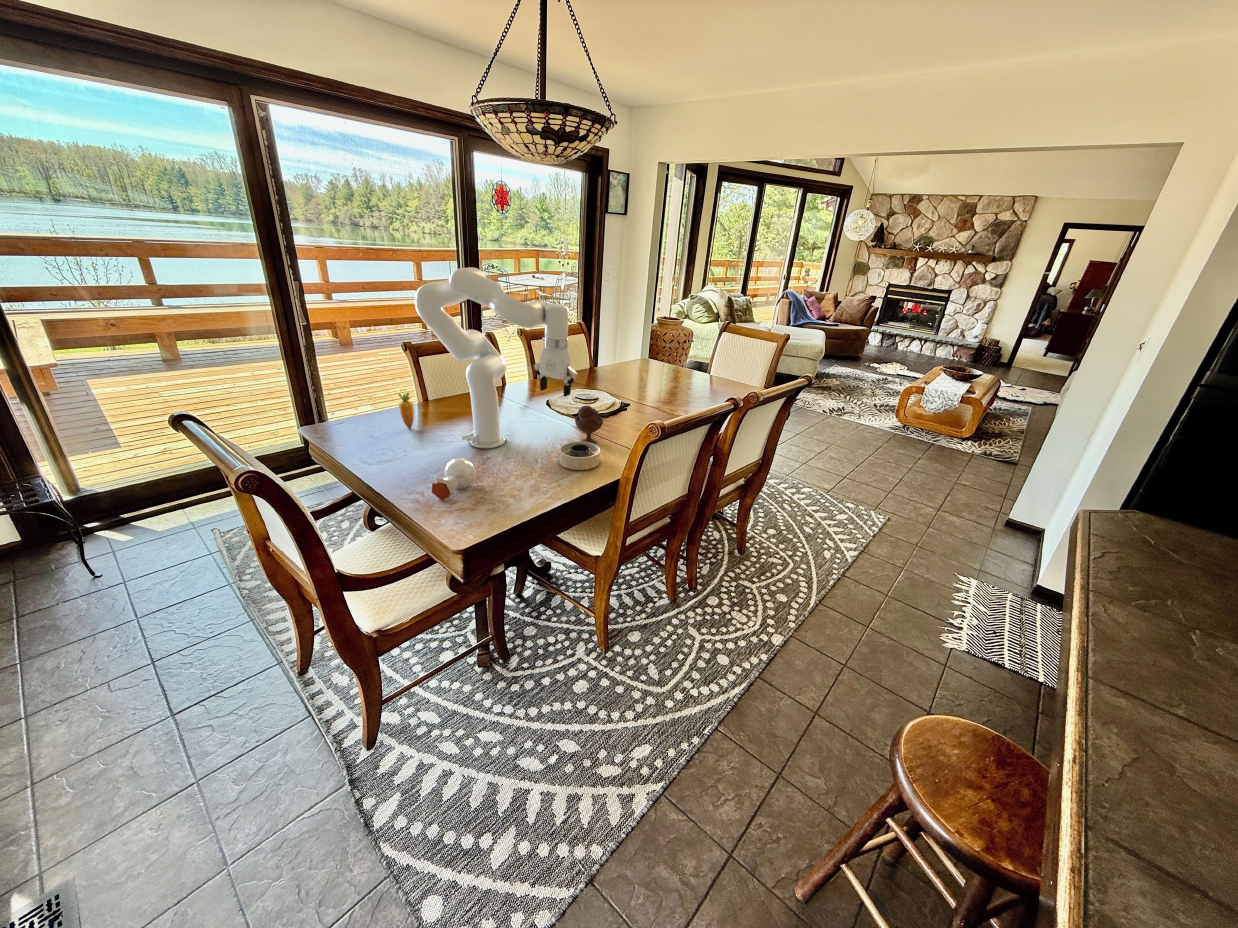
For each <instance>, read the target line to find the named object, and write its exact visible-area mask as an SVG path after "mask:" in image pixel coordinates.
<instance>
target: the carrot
mask: <svg viewBox="0 0 1238 928" xmlns="http://www.w3.org/2000/svg"><path fill="white" fill-rule="evenodd" d="M397 395H398V396H399V398H400V399H401V400H402V401H400V402H399V403H398V407H399V408H398V409H399V412H400V417H401V419H402V421H403V423H404V425H405V426H406V428H407V429H409V430H411V429H412V428H413V425H414V421H415V420H414V419H415V411H414V409H415V408H414V403H413V402H412V401H411V400H410V399H411V397H410V392H408V391H407V392H404V393H403V395H402V393H398V394H397Z"/></svg>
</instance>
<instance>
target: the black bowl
mask: <svg viewBox="0 0 1238 928" xmlns="http://www.w3.org/2000/svg"><path fill="white" fill-rule="evenodd" d="M570 456H572V457H588V456H590V447H589V446H587V445H583V444H576V445H573V446H571V447H570Z"/></svg>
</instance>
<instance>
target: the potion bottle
mask: <svg viewBox="0 0 1238 928" xmlns="http://www.w3.org/2000/svg"><path fill="white" fill-rule="evenodd" d="M476 477H477V471H476V467H475V465H474V464H473V462H471V461H470V460H469V459H466V458H464V457H457V458H454V459H452V460H450V461H448V462H447V463H446V465H445V467H444V470H443V478H441V477H435V482H432V483H431V484H432V485H431V494H433V495H434V496H435V497H437V498H438V499H439V500H440V501H444V500H446V499H449V498H450V497H451V496H453V495H454V494H456V490H455V489H459V490H460V489H465V488H467V487H469V486H470V485H472V484H474V481H475V479H476Z"/></svg>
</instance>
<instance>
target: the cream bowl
mask: <svg viewBox="0 0 1238 928" xmlns="http://www.w3.org/2000/svg"><path fill="white" fill-rule="evenodd" d="M576 444H583V445H587V446H589V447H590V456H588V457H572V456H570V447H571V446H573V445H576ZM600 462H601V448H600V447H599V446H598V445H597V444H596V443H595V444H593V443H589V442H582V440H581V441H580V440H579V441H578V440H577V441H570V442H569V441H568V442H566V443H563V444H562V445H560V446H559V448H558V463H559V464H560V465H561V466H562V467H564V468H566V469H569V470H574V471H576V470H577V471H584V470H590V469H593V468H596V467H597V466H599V465H600Z"/></svg>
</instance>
